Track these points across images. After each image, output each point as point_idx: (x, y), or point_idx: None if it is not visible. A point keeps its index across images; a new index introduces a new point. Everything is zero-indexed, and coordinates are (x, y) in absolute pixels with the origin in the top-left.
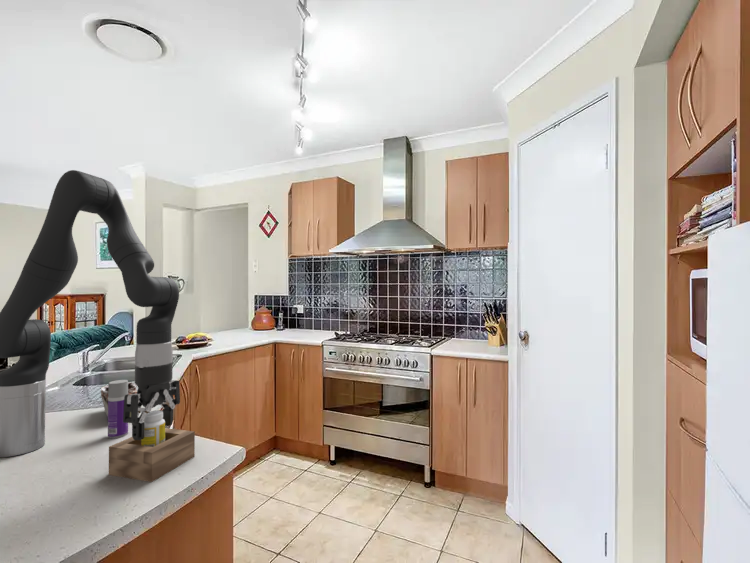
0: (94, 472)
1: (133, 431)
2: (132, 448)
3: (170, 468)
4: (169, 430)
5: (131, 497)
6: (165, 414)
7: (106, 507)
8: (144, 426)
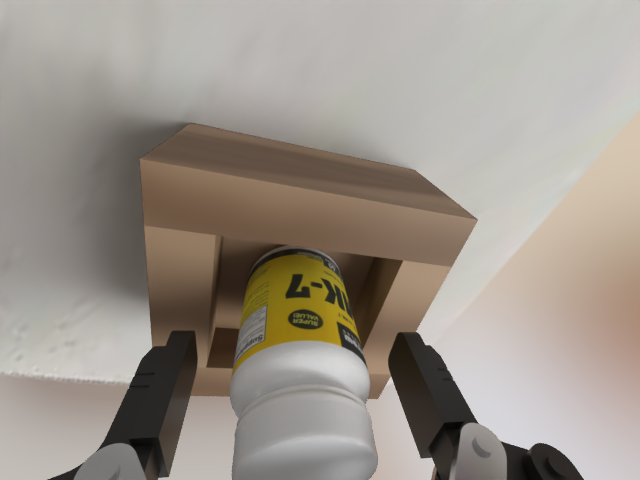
0: (194, 17)
1: (131, 394)
2: (166, 306)
3: None
4: (402, 318)
5: (95, 312)
6: (420, 405)
7: (19, 288)
8: (230, 394)
